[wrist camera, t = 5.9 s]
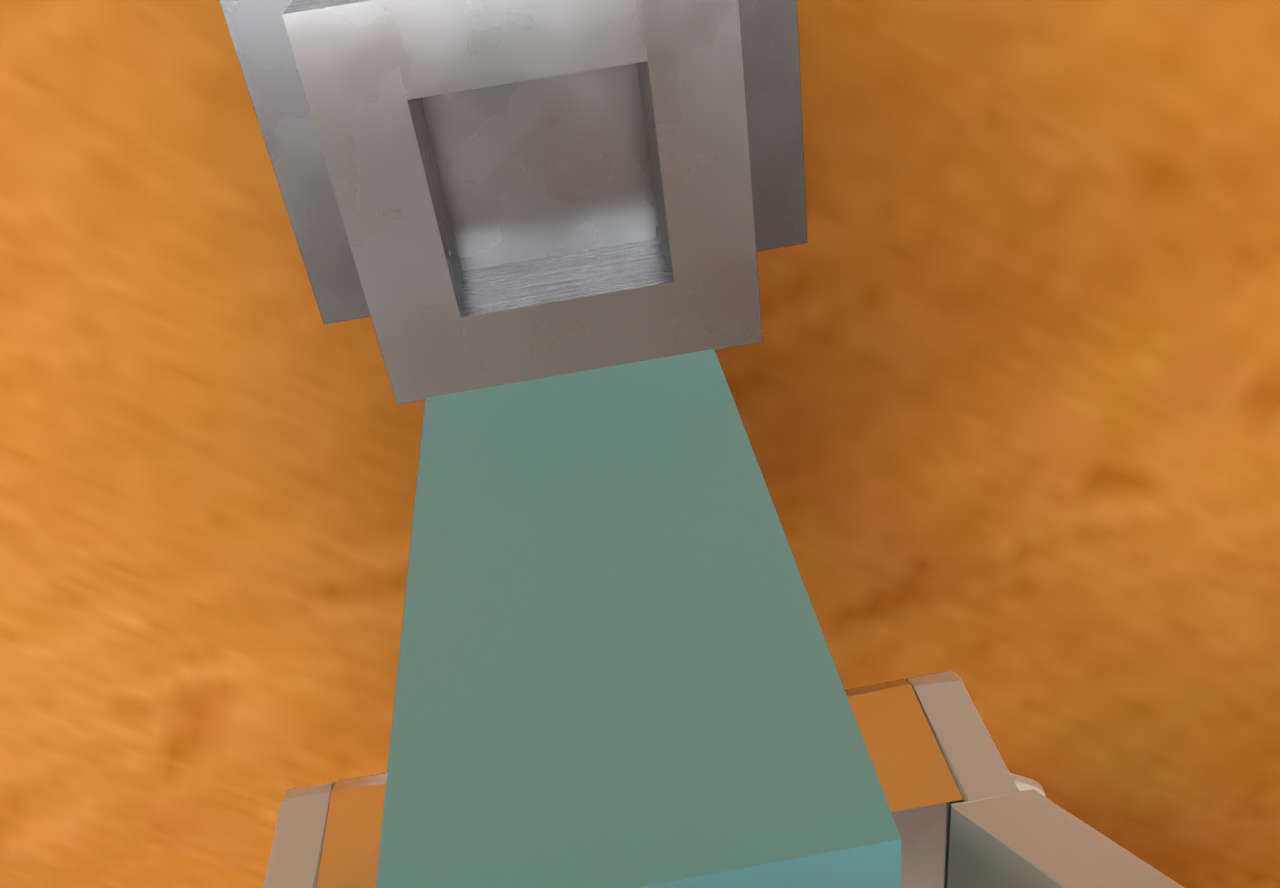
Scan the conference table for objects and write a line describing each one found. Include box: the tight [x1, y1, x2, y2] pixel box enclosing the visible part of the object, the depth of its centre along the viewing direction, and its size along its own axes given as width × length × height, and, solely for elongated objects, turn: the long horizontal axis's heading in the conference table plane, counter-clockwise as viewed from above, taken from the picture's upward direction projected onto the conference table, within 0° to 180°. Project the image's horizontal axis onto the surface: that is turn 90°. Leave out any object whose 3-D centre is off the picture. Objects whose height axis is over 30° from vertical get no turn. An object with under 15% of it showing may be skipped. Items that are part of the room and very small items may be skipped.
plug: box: [376, 349, 901, 888], centre depth 12 cm, size 4×4×8 cm
